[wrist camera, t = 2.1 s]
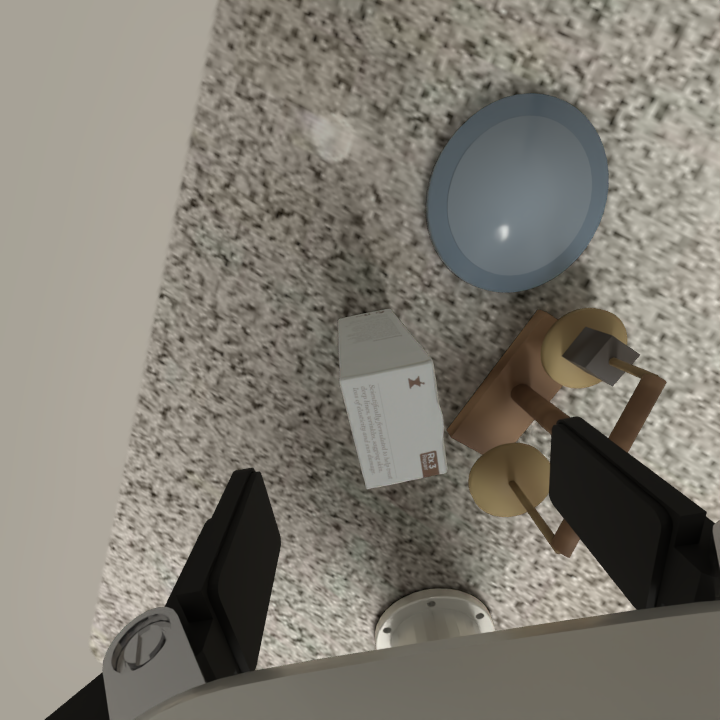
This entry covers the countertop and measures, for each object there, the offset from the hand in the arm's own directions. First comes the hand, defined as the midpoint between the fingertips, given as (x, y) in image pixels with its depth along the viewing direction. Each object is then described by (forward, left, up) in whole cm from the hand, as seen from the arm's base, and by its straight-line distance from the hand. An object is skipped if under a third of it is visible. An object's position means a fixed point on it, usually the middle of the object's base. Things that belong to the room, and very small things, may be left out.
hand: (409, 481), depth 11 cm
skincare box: (-1, 0, -17) cm, 17 cm away
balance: (-6, -11, -16) cm, 20 cm away
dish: (+8, -11, -16) cm, 21 cm away
